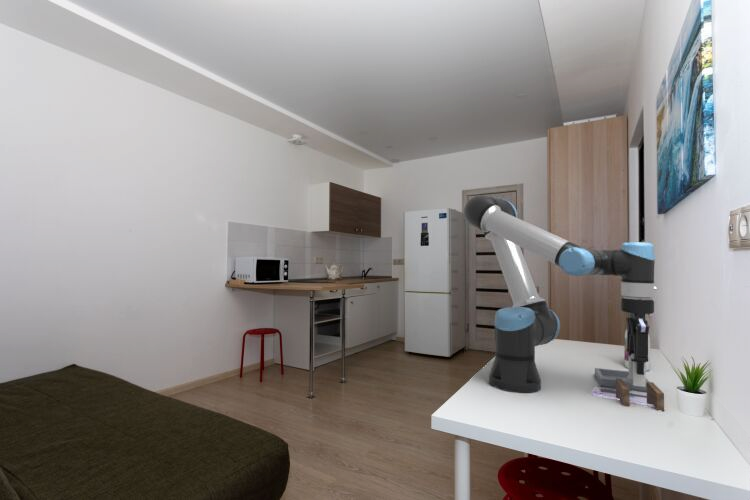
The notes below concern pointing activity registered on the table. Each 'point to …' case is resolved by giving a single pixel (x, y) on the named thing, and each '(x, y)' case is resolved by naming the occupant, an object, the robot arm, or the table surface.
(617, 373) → the charcoal tray
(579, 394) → the table surface
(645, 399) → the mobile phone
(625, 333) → the milk bottle
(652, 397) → the walnut bracket
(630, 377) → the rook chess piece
